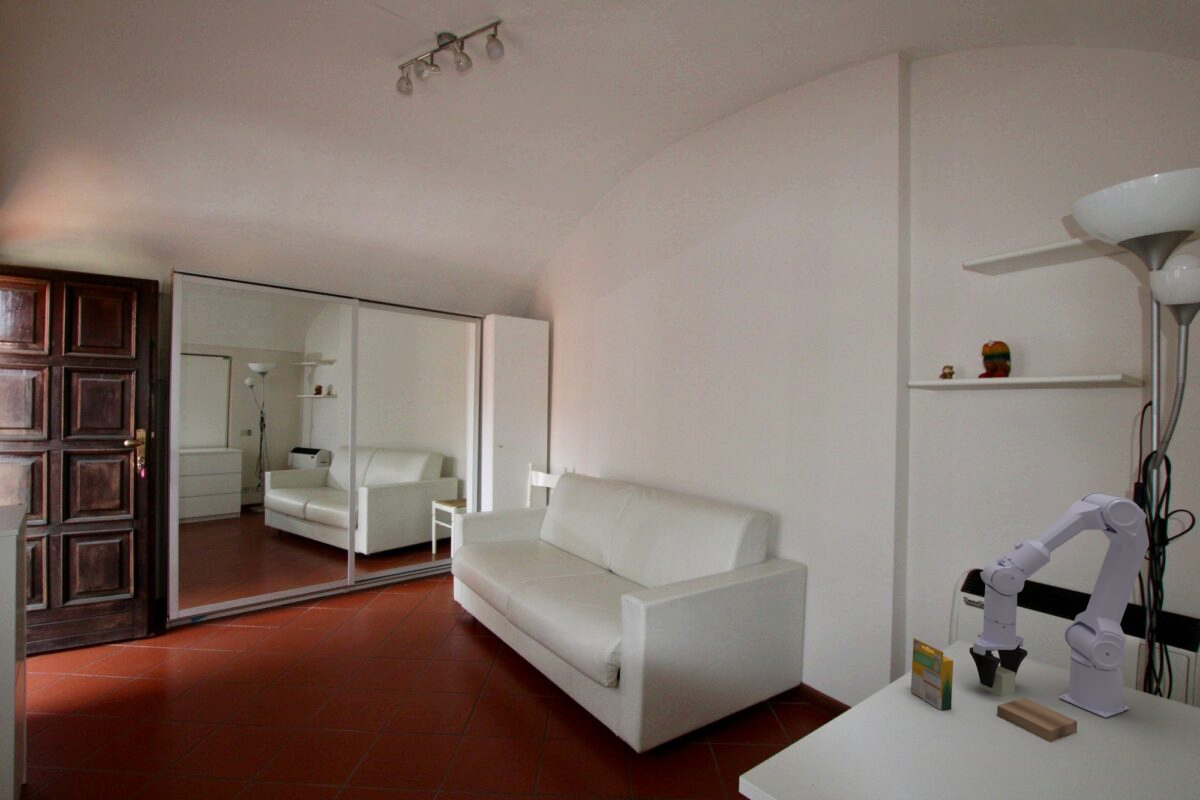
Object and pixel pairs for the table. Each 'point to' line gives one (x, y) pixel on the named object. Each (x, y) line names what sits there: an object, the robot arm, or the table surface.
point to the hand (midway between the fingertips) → (997, 682)
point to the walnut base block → (1037, 719)
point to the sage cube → (1002, 682)
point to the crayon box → (931, 675)
